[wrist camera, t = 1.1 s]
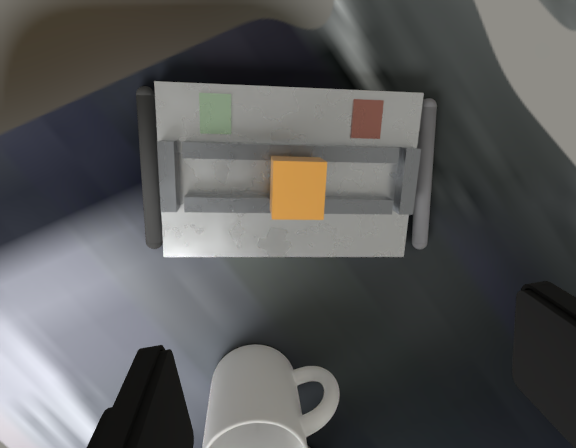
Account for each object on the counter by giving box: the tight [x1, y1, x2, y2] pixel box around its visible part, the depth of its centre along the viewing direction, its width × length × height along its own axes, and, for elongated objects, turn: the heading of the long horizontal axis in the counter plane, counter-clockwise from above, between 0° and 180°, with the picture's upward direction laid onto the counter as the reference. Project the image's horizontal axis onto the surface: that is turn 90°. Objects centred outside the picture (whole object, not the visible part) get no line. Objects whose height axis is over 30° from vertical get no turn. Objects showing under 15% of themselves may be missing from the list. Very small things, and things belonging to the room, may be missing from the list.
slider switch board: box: [154, 81, 424, 257], centre depth 32 cm, size 14×21×4 cm, turn 88°
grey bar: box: [136, 86, 163, 249], centre depth 32 cm, size 13×1×1 cm, turn 178°
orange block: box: [270, 156, 327, 220], centre depth 29 cm, size 4×4×6 cm
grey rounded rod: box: [412, 98, 437, 249], centre depth 35 cm, size 13×1×1 cm, turn 2°
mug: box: [202, 344, 340, 448], centre depth 35 cm, size 12×8×10 cm
